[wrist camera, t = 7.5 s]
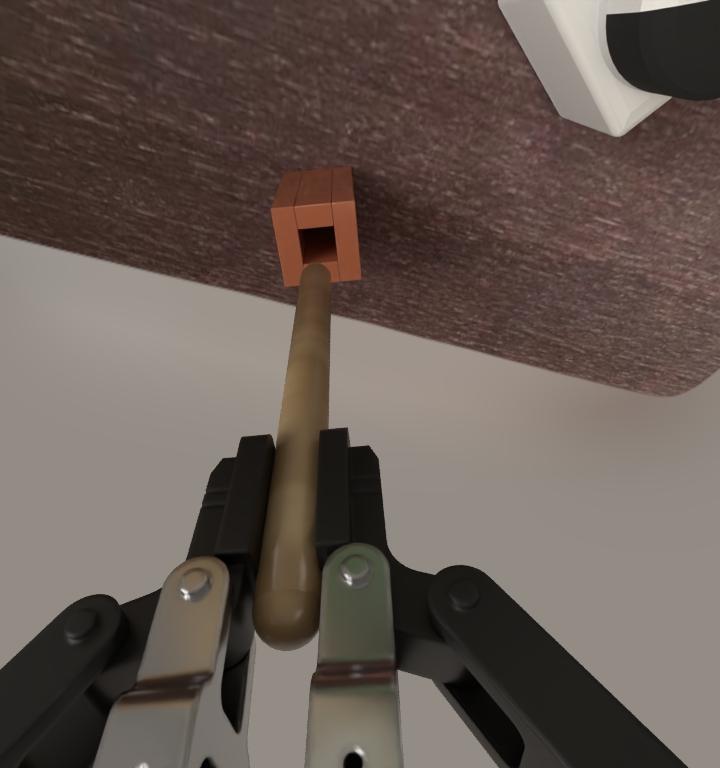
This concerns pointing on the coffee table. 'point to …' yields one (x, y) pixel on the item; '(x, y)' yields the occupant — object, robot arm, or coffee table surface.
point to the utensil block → (317, 224)
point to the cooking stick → (297, 479)
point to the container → (619, 55)
